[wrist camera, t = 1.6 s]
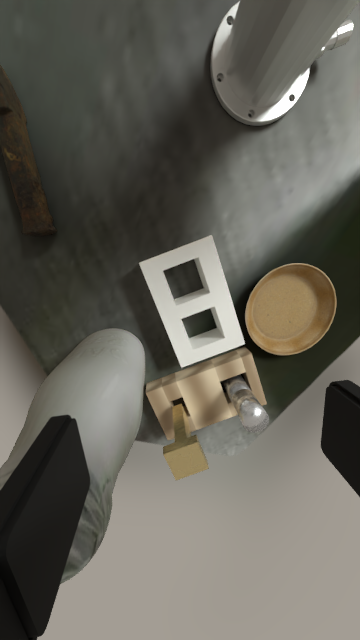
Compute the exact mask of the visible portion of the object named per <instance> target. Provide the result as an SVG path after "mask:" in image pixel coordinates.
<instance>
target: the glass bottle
mask: <svg viewBox="0 0 360 640" xmlns="http://www.w3.org/2000/svg"><path fill="white" fill-rule="evenodd" d="M144 379H145V353H144V349H143V345H142V343H141V342H140V340H139V339H138V338H137V337H136V336H134V335H133V334H132V333H130V332H128V331H126V330H123V329H116V328H111V329H104V330H100V331H97V332H95V333H93V334H91V335H89V336H88V337H86V338H85V339H84V340H82V341H81V342H80V343H79V344H78V345H77V346H76V348H75V349H74V350H73V351H72V352H71V353H70V354H69V355H68V356H67V357H66V358H65V359H64V360H63V361H62V362H61V363H60V364H59V365H58V366H57V367H56V368H55V369H54V370H53V371H52V372H51V373H50V374H49V375H48V377H47V378H46V379H45V380H44V381H43V383H42V384H41V386H40V387H39V389H38V391H37V393H36V395H35V397H34V399H33V401H32V404H31V406H30V408H29V411H28V415H27V418H26V421H25V424H24V427H23V429H22V431H21V433H20V435H19V437H18V439H17V441H16V443H15V446H14V448H13V450H12V452H11V454H10V456H9V458H8V460H7V461H6V462H5V463H4V464H3V466H2V467H1V468H0V490H1V489H2V487H3V486H4V484H5V483H6V481H7V480H8V478H9V477H10V475H11V474H12V472H13V471H14V470H15V468H16V467H17V465H18V464H19V463H20V461H21V460H22V458H23V457H24V455H25V454H26V452H27V451H28V449H29V448H30V446H31V445H32V444H33V442H34V441H35V439H36V438H37V436H38V435H39V433H40V432H41V430H42V429H43V427H44V426H45V425H46V423H47V422H48V420H49V419H50V418H51V417H53V416H61V415H70V416H71V418H75V419H76V421H77V425H78V429H79V433H80V437H81V442H82V446H83V450H84V454H85V458H86V462H87V466H88V470H89V475H90V487H89V491H88V494H87V497H86V500H85V504H84V507H83V510H82V514H81V517H80V520H79V523H78V527H77V530H76V533H75V536H74V540H73V543H72V546H71V549H70V553H69V556H68V559H67V563H66V566H65V569H64V572H63V576H62V579H61V582H60V584H61V583H63V582H65V581H67V580H69V579H70V578H72V577H73V576H75V575H76V574H77V573H78V572H80V571H81V570H82V569H83V568H84V567H85V566H86V565H87V564H88V562H89V561H90V560H91V558H92V557H93V556H94V554H95V553H96V551H97V550H98V548H99V546H100V544H101V542H102V540H103V538H104V535H105V532H106V530H107V526H108V523H109V519H110V514H111V509H112V493H113V489H114V486H115V482H116V479H117V476H118V473H119V471H120V469H121V468H122V466H123V464H124V462H125V460H126V458H127V456H128V453H129V451H130V449H131V447H132V445H133V442H134V440H135V438H136V436H137V433H138V430H139V426H140V422H141V417H142V409H143V387H144Z"/></svg>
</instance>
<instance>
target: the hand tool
mask: <svg viewBox="0 0 360 640" xmlns="http://www.w3.org/2000/svg"><path fill="white" fill-rule="evenodd" d="M26 123H27V120H26V117H25V114H24V111H23V109H22V106H21V103H20V101H19V99H18V97H17V95H16V92H15V90H14V88H13V86H12V84H11V82H10V80H9V78H8V77H7V75H6V73H5V71H4V69H3V68H2V66H1V65H0V147H1V150H2V153H3V157H4V161H5V165H6V168H7V172H8V175H9V179H10V182H11V185H12V189H13V192H14V195H15V199H16V202H17V205H18V208H19V212H20V215H21V218H22V223H23V229H22V234H24V235H30V236H43V235H51V234H53V233H56V232H57V230H56V228H55V227H53V218H52V216H51V215H50V213H49V209H48V205H47V199H46V197H45V193H44V190H43V188H42V184H41V180H40V175H39V172H38V169H37V165H36V162H35V158H34V155H33V151H32V147H31V143H30V140H29V136H28V132H27V129H26Z"/></svg>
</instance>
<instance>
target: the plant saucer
mask: <svg viewBox="0 0 360 640" xmlns="http://www.w3.org/2000/svg"><path fill="white" fill-rule="evenodd" d="M335 310H336V294H335V290H334V287H333V285H332V282H331V281H330V279H329V278H328V276H327V275H326V274H325V273H323V272H322V271H321V270H319V269H318V268H316V267H314V266H311V265H308V264H303V263H293V264H287V265H283V266H281V267H278V268H276V269H274V270H272V271H271V272H269V273H268V274H267V275H265V276H264V277H263V278H262V279H261V280H260V281H259V282H258V283H257V285H256V286H255V287H254V289H253V291H252V292H251V294H250V296H249V299H248V302H247V305H246V311H245V321H246V327H247V330H248V333H249V335H250V337H251V338H252V340H253V341H254V342H255V343H256V344H257V345H258V346H259V347H260V348H262V349H263V350H265V351H267V352H269V353H272V354H276V355H292V354H297V353H300V352H302V351H304V350H306V349H308V348H310V347H312V346H313V345H314V344H316V343H317V342H318V341H319V340H320V339H321V338H322V337H323V336H324V334H325V333H326V332H327V330H328V329H329V327H330V325H331V323H332V321H333V318H334V315H335Z"/></svg>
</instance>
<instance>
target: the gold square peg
mask: <svg viewBox="0 0 360 640" xmlns="http://www.w3.org/2000/svg"><path fill="white" fill-rule="evenodd" d="M172 411H173V423H174V436H175V443H172V444H169V445H167V446H164V447H163V454H164V457H165V459H166V461H167V463H168V465H169V467H170V469H171V471H172V473H173V475H174V477H175V479H176V480H179V479H181V478H184V477H187V476H189V475H192V474H195V473H198V472H200V471H203V470H206V469H208V468H209V467H208V463H207V459H206V457H205V455H204V452H203V450H202V447H201V445H200V443H199V440H198V438H197V436H196V435H194V436H191V432H190V426H189V420H188V417H187V415H186V413H185V410H184V408H183V406H182V404H179V405H176V406H174V407H172Z"/></svg>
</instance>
